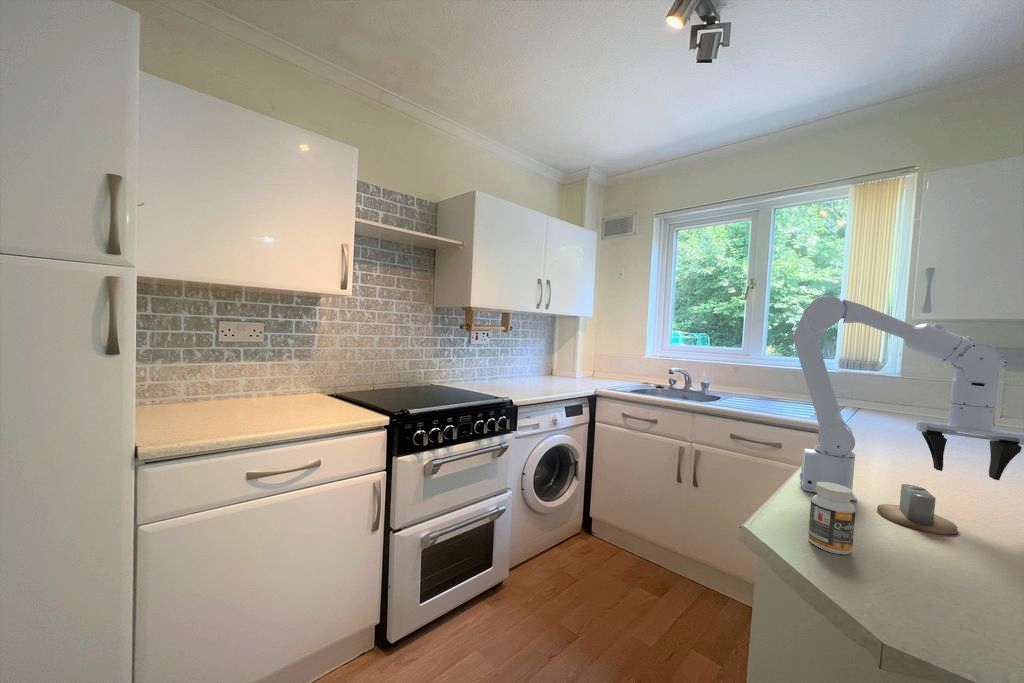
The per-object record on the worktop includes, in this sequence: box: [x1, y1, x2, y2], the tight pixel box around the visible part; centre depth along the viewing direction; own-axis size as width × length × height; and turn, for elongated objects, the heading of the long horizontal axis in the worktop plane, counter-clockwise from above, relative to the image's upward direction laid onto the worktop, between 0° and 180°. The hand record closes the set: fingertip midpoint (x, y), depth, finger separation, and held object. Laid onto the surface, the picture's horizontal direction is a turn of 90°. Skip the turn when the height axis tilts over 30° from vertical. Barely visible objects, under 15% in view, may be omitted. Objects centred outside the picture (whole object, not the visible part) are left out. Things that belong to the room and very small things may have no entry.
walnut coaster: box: [876, 503, 958, 536], centre depth 79 cm, size 11×11×1 cm
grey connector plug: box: [899, 483, 936, 526], centre depth 79 cm, size 11×4×5 cm, turn 148°
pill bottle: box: [807, 482, 856, 555], centre depth 66 cm, size 6×6×10 cm
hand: (965, 473), depth 79 cm, fingers open, 7 cm apart
